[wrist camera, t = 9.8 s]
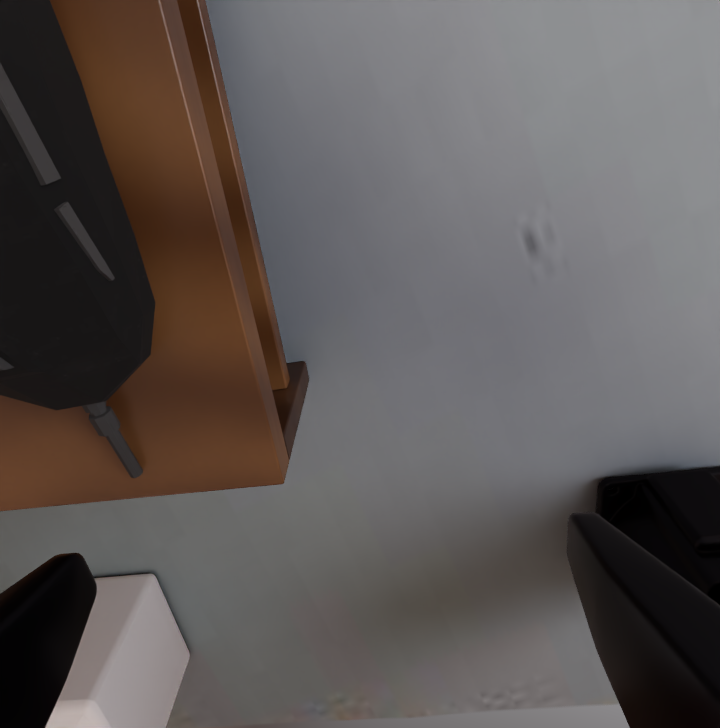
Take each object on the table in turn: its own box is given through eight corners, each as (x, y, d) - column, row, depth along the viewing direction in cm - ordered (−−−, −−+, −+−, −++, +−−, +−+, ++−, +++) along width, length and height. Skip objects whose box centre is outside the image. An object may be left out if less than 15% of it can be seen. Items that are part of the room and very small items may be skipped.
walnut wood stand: (309, 381, 22) (284, 484, 16) (94, 405, 23) (-13, 513, 16) (205, -127, 15) (79, -317, 8) (-106, -66, 15) (-436, -196, 9)
